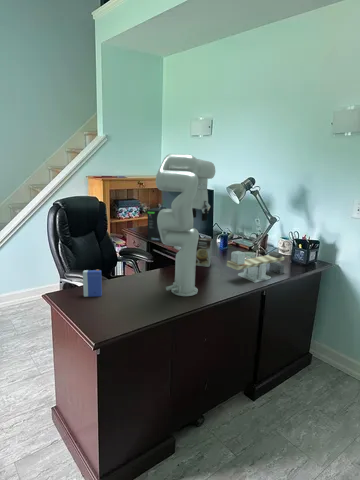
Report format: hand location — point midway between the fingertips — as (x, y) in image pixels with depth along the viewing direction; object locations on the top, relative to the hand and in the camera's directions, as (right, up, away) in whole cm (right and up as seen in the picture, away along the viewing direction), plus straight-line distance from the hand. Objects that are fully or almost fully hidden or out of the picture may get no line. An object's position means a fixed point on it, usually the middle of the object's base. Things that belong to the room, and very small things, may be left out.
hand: (198, 219), depth 183 cm
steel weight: (+20, -24, -7) cm, 32 cm away
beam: (+31, -25, +1) cm, 40 cm away
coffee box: (+3, -26, +21) cm, 34 cm away
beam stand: (+36, -31, +6) cm, 48 cm away
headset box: (-23, -12, +78) cm, 82 cm away
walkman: (-50, -37, -29) cm, 68 cm away
